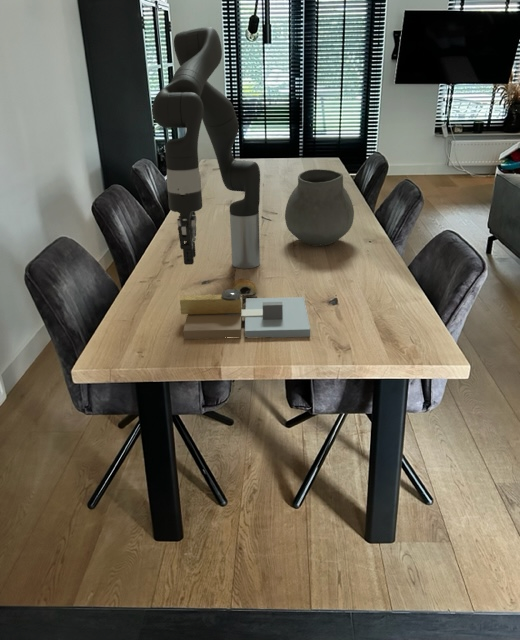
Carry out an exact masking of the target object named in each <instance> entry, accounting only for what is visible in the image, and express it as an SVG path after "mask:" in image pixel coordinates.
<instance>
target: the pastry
mask: <svg viewBox="0 0 520 640" xmlns="http://www.w3.org/2000/svg"><path fill="white" fill-rule="evenodd" d="M232 289H235V290H239V291H240V292H241V295H251V296H253V294H254V295H255V294H256V293H255V292H257V287H256V284H255V283H254V282H253V281H251V279H244V278H239V279H237V280H236V281H234V284H233V285H232Z"/></svg>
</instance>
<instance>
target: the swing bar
mask: <svg viewBox="0 0 520 640" xmlns="http://www.w3.org/2000/svg"><path fill="white" fill-rule="evenodd" d="M179 304H180V305H179V306H180V315H188V314H219V313H241V311H242V309H243V308H242V305H241V292H240V291H239V290H235V289H233V288H230V289H229V288H228V289H225V290H222V291H221V294H191V295H190V294H189V295H188V294H185V295H180V299H179Z"/></svg>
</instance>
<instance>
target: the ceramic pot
mask: <svg viewBox="0 0 520 640" xmlns="http://www.w3.org/2000/svg"><path fill="white" fill-rule="evenodd" d="M354 217H355V210H354V205H353V202H352V199H351V197H350V195H349V193H348V191H347V189H345V187H344V173H341V172H339V171H335V170H331V169H323V168H322V169H321V168H320V169H319V168H318V169H317V168H313V169H308V170H305V171H302V172H301V173H299V175H297V185H296V187H294V189H293V190H292V192H291V194H290V196H289V197H288V200H287V203H286V207H285V213H284V221H285V225H286V228H287V230H288V231H289V232H290V233H291V234H292V235H293V237H295V238H296V239H298V240H299V241H301V242H303V243H304V244H306V245H309V246H313V247H317V246H318V247H320V246H321V247H322V246H327V245H331V244H333V243H335V242H337V241H339V240H340V239H342V238H343V237H344V236H345V235H346V234H347V233H349V232H350V230H351V228H352V226H353V223H354V219H355V218H354Z"/></svg>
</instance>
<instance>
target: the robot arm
mask: <svg viewBox="0 0 520 640" xmlns="http://www.w3.org/2000/svg"><path fill="white" fill-rule="evenodd" d="M173 48H174V54H175V55H176V59H177V61H178V65H179V67H178V68H177V70H176V71H175V72H174V74H173V77H172V79H171V81H170V82H169V83H168V84H167V85H166V86H164V87H163V88H162V89H160V90H159V92H158V93H157V94H156V96H155V97H154V99H153V103H152V111H151V112H152V116H153V119H154V122H155V123H156V124H157V125H159V126H160V127H162V128H164V129H179V128H181V129H186V133H185V135H183V136H182V137H177V138H175V139H174V138H173V139H171V140H168V141H166V142H165V145H164V150H165V151H164V153H165V164H166V187H167V189H166V190H167V197H168V208H169V211H171V212H174V213H178V214H179V215H178V218H177V219H176V221H177V222H176V223H177V224H176V225H177V226H178V227H177V231H178V238H179V247H180V249H181V250H182V254H183V256H182V257H183V263H184V265H185V266H187V265H189V266H191V265H193V264H194V263H195V260H194V258H196V254H197V253H196V240H197V239H196V236H197V215H196V212H198V211H200V210H201V209H202V208H203V197H202V181H201V173H200V168H199V166H200V165H199V152H198V147H199V136H200V130H201V125H202V122H203V125H204V128H205V130H206V133H207V135H208V137H209V139H210V143H211V145H212V148H213V151H214V154H215V157H216V160H217V165H218V167H219V172H220V176H221V179H222V182H223V185H224V187H225V188H226V189H227V190H229V191H233V192H243V193H244V197H243V198H242V199H240V200H237V201H234V202H233V201H232V203H230V205H229V221H230V223H229V224H230V226H229V227H230V244H231V245H230V246H231V247H230V249H231V265H232V267H235V268H237V269H253V268H257V267H258V266H260V264H261V255H260V252H261V246H260V210H259V209H260V199H261V198H260V196H261V195H260V193H261V190H260V189H261V171H260V167H259V166H260V165H258V163H257V162H256V161H253V160H252V161H251V160H250V161H249V160H237V159H235V157H234V156H233V151H232V148H233V145H234V143H235V141H236V139H237V136H238V133H239V127H240V125H239V122H238V118H237V114H236V111H235V109H234V105H233V103H232V102H231V100H230V99H229V98H228V97H227V96H226V95H224V94H223V93H222V92H221V91H219V90H218V88H216V87H215V86H213V85H212V84H211V83H210V82H209V81H208V80H209V78H210V77H211V76H212V74H213V73H214V72H215V70H216V69H217V68H218V67H219V65H220V64H221V61H222V57H223V47H222V42H221V38H220V36H219V34H218V31H217V30H216V29H215V28H213V27H211V26H203V27H198V28H192V29H189V30H184V31H180V32H178V33H176V34H175V35H174V38H173Z"/></svg>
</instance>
